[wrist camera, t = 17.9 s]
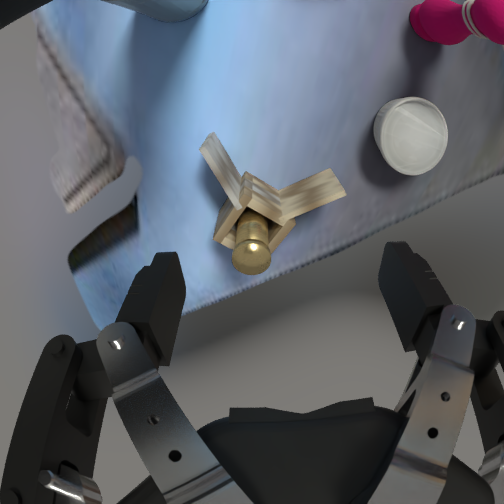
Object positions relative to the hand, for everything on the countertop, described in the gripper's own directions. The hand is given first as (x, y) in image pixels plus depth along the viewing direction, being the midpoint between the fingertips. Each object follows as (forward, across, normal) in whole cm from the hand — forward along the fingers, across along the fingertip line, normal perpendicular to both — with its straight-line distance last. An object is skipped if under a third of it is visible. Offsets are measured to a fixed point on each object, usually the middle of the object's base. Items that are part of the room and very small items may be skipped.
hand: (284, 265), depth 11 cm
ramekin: (+32, +20, -1) cm, 38 cm away
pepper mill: (+32, +24, +17) cm, 44 cm away
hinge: (+32, -2, -9) cm, 33 cm away
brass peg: (+32, -2, -13) cm, 35 cm away
